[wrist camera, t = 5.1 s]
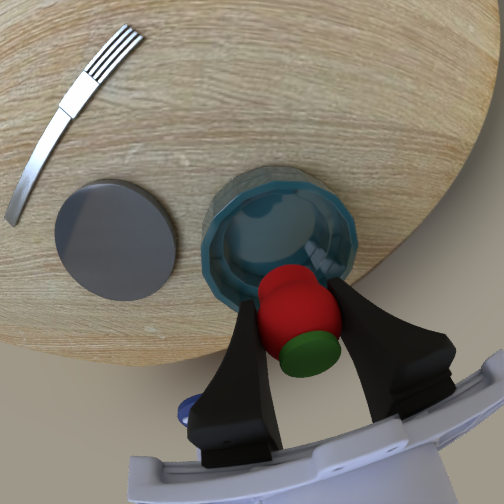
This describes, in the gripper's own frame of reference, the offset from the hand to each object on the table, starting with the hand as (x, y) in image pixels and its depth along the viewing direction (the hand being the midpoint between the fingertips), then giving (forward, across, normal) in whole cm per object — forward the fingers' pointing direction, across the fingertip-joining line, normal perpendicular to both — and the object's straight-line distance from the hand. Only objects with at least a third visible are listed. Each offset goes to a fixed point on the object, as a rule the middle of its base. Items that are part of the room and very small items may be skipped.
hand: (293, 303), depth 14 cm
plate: (+8, +12, -2) cm, 14 cm away
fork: (+8, +12, -12) cm, 19 cm away
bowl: (+8, 0, 0) cm, 8 cm away
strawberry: (+1, 0, 0) cm, 1 cm away
